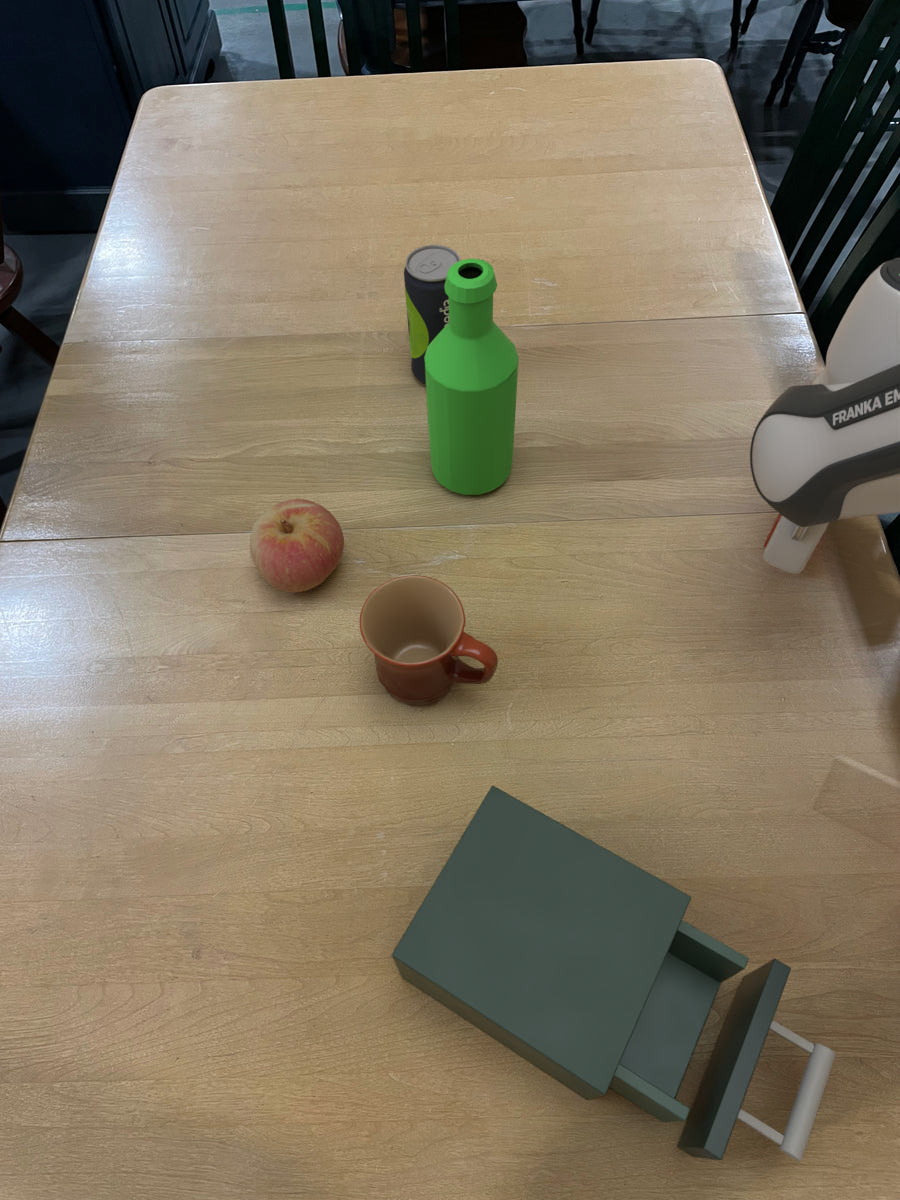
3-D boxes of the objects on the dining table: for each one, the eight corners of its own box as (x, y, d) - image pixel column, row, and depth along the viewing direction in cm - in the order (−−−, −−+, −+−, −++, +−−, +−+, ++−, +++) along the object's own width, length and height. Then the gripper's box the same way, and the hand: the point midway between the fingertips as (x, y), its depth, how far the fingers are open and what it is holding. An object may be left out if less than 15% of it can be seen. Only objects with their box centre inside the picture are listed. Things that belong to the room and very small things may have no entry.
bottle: (476, 426, 95) (477, 225, 74) (528, 471, 92) (545, 273, 71) (415, 465, 93) (397, 268, 71) (466, 513, 89) (463, 320, 68)
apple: (364, 559, 86) (354, 510, 79) (308, 622, 82) (294, 576, 76) (298, 521, 89) (283, 471, 82) (241, 580, 85) (221, 533, 78)
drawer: (822, 1022, 62) (864, 1009, 55) (762, 1203, 56) (801, 1212, 50) (582, 883, 68) (594, 855, 61) (505, 1034, 62) (509, 1023, 55)
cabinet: (664, 926, 67) (692, 896, 58) (587, 1100, 61) (605, 1095, 52) (490, 825, 71) (492, 784, 63) (401, 977, 65) (390, 955, 57)
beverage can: (432, 398, 98) (425, 289, 85) (401, 368, 101) (391, 258, 88) (474, 375, 100) (475, 264, 87) (443, 346, 103) (439, 235, 90)
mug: (355, 696, 78) (340, 641, 69) (397, 621, 82) (389, 561, 73) (474, 746, 75) (474, 696, 66) (512, 666, 79) (517, 609, 71)
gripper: (849, 529, 67) (792, 618, 79) (918, 370, 76) (858, 471, 88) (772, 497, 69) (728, 589, 81) (848, 346, 78) (799, 448, 90)
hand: (796, 526), depth 84 cm, fingers open, 8 cm apart
